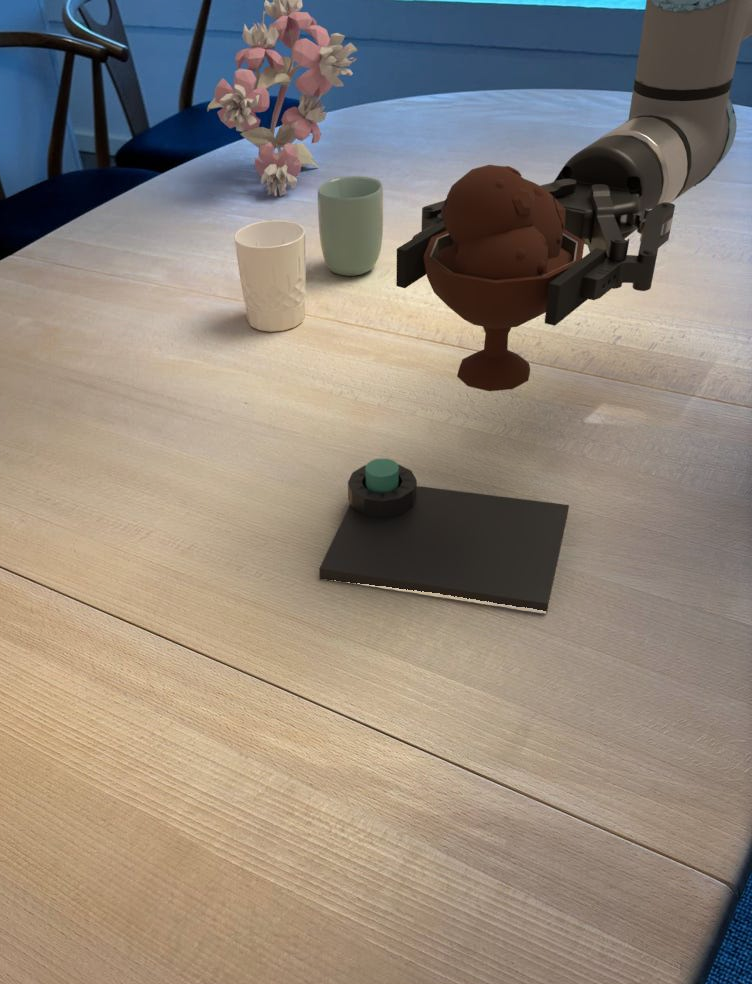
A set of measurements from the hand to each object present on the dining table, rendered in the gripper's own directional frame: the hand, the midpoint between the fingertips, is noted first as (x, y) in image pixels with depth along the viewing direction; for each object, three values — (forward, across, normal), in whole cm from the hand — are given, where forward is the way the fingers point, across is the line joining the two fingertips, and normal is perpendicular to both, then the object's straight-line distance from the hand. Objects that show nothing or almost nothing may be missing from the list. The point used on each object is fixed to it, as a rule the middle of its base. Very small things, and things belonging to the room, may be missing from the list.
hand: (472, 286), depth 67 cm
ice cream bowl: (-4, 0, -8) cm, 9 cm away
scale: (+1, 0, -22) cm, 22 cm away
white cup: (-25, +40, -22) cm, 52 cm away
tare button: (0, +8, -19) cm, 21 cm away
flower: (-62, +69, -22) cm, 95 cm away
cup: (-40, +41, -22) cm, 62 cm away
